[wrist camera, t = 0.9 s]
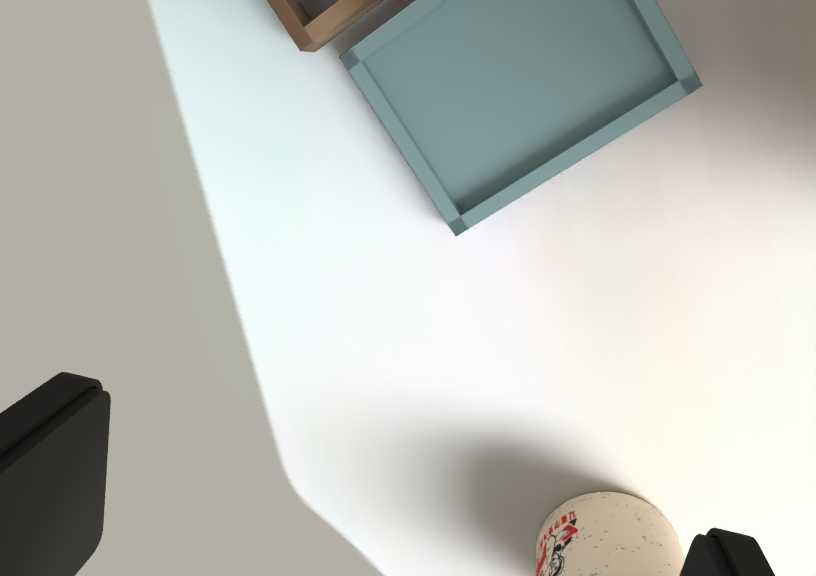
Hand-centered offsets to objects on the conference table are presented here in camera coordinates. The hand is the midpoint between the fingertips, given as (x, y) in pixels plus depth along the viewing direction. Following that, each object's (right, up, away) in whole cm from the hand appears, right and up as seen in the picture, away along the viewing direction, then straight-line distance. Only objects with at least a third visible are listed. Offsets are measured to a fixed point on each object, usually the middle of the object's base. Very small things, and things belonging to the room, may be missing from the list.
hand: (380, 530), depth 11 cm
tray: (+6, +15, +25) cm, 30 cm away
